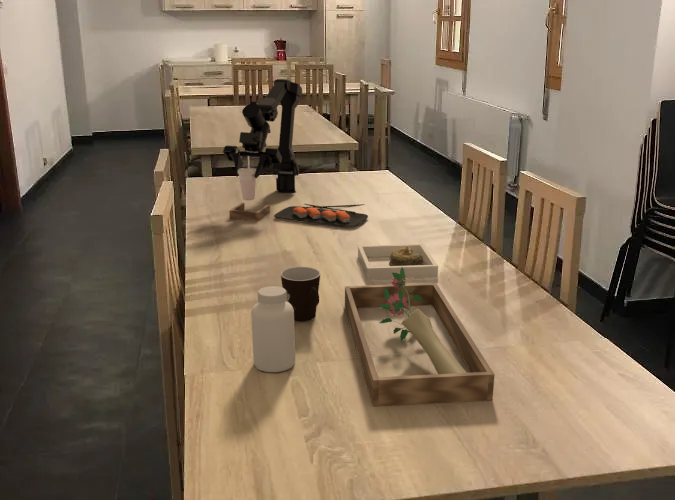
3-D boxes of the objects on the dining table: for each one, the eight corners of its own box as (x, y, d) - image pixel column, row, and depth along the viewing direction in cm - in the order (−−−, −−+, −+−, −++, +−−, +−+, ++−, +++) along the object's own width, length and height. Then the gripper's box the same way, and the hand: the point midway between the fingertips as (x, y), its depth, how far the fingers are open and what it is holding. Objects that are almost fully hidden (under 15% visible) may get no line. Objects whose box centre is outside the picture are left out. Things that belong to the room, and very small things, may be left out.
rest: (241, 210, 239) (241, 202, 238) (269, 213, 236) (269, 204, 235) (229, 218, 230) (229, 210, 229) (258, 221, 227) (258, 212, 226)
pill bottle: (271, 350, 141) (269, 280, 137) (303, 361, 137) (302, 289, 132) (244, 366, 135) (241, 293, 130) (277, 378, 131) (275, 302, 126)
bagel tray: (422, 254, 197) (422, 243, 196) (437, 277, 180) (438, 266, 179) (357, 256, 195) (358, 245, 194) (367, 279, 178) (367, 268, 177)
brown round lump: (401, 276, 183) (400, 256, 181) (381, 265, 191) (379, 246, 190) (433, 267, 187) (432, 247, 185) (411, 256, 196) (411, 238, 194)
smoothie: (258, 201, 229) (257, 158, 224) (238, 201, 228) (236, 158, 223) (258, 196, 235) (256, 154, 230) (238, 196, 234) (236, 154, 229)
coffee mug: (281, 308, 161) (280, 267, 158) (319, 307, 162) (319, 266, 159) (282, 330, 150) (280, 286, 147) (322, 329, 151) (322, 285, 148)
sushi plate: (270, 222, 229) (270, 210, 227) (309, 199, 255) (309, 189, 254) (354, 232, 218) (355, 220, 217) (386, 208, 244) (386, 197, 243)
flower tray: (435, 303, 164) (436, 283, 162) (492, 399, 124) (494, 374, 122) (344, 306, 162) (344, 286, 160) (372, 406, 122) (373, 380, 120)
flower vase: (434, 430, 128) (366, 317, 156) (495, 404, 130) (417, 296, 158) (425, 386, 121) (355, 276, 149) (489, 359, 123) (408, 255, 151)
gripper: (223, 120, 229) (210, 161, 223) (277, 123, 224) (265, 164, 218) (235, 140, 239) (222, 180, 233) (287, 143, 234) (275, 183, 228)
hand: (245, 176), depth 228 cm, fingers closed on smoothie, 6 cm apart
